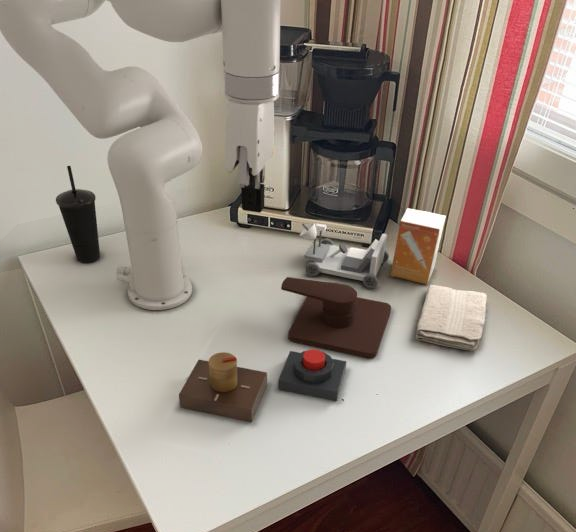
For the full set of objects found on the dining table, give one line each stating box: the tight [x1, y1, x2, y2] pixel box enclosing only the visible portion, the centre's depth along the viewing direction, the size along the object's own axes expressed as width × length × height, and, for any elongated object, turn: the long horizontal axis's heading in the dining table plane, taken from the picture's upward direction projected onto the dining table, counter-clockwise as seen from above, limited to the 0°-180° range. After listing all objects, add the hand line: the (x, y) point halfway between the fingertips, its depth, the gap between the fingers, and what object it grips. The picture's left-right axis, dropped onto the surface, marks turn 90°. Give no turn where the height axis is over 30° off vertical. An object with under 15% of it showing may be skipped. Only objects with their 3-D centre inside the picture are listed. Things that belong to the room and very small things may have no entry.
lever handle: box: [280, 276, 392, 359], centre depth 114 cm, size 16×7×20 cm
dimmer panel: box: [178, 359, 268, 423], centre depth 99 cm, size 12×9×3 cm
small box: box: [390, 207, 447, 286], centre depth 126 cm, size 8×6×13 cm
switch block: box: [277, 350, 347, 402], centre depth 103 cm, size 10×8×4 cm
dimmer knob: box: [208, 351, 238, 392], centre depth 97 cm, size 4×4×5 cm
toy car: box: [299, 222, 390, 290], centre depth 128 cm, size 18×10×12 cm
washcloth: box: [415, 284, 488, 352], centre depth 117 cm, size 12×18×3 cm, turn 163°
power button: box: [303, 348, 325, 371], centre depth 101 cm, size 4×4×2 cm
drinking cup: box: [55, 165, 101, 264], centre depth 124 cm, size 8×8×20 cm
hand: (253, 209), depth 96 cm, fingers closed
